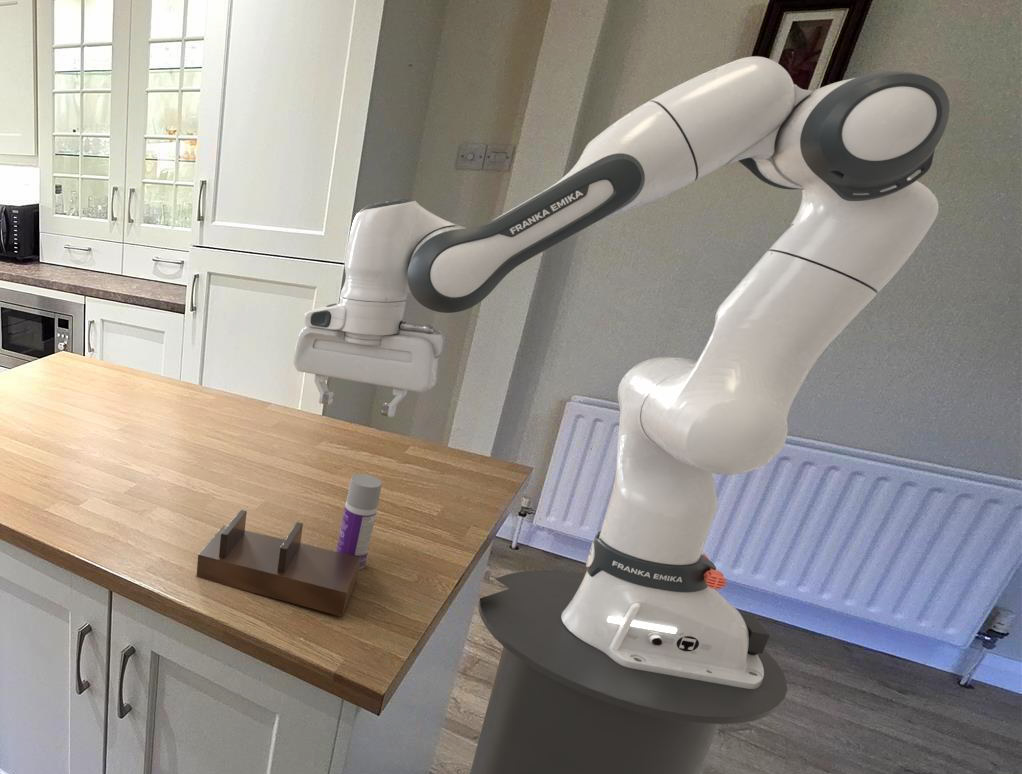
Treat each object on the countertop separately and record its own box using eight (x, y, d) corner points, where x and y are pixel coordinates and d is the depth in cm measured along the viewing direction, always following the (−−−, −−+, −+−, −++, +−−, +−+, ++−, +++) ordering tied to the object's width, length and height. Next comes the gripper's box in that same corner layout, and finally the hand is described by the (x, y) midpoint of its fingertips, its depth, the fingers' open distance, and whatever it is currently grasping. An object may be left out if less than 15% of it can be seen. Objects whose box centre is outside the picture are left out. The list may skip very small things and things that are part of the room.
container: (328, 557, 121) (343, 476, 114) (350, 551, 123) (367, 471, 116) (348, 572, 117) (365, 489, 111) (371, 566, 119) (389, 484, 112)
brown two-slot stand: (356, 579, 115) (364, 533, 112) (342, 616, 105) (350, 567, 102) (221, 546, 125) (225, 503, 122) (196, 577, 116) (199, 531, 113)
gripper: (453, 323, 102) (435, 418, 107) (312, 307, 115) (301, 393, 120) (439, 330, 98) (421, 429, 103) (294, 312, 110) (284, 401, 115)
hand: (355, 409), depth 111 cm, fingers open, 8 cm apart
